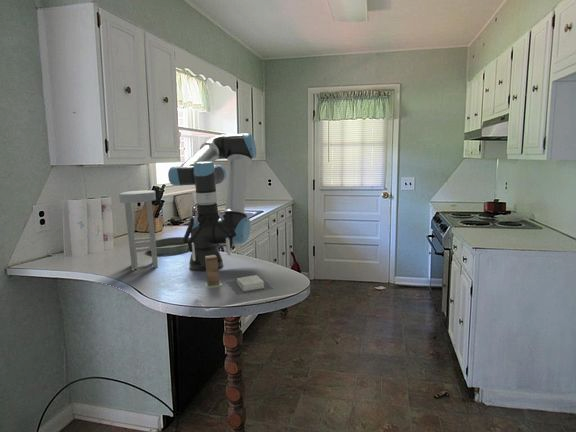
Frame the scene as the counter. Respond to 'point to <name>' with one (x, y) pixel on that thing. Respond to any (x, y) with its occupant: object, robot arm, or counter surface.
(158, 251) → the cake pan
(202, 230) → the robot arm
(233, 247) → the kitchen cleaver
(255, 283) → the tile
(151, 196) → the stool
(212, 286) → the rest pad
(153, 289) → the counter surface
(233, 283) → the mat
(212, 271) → the block
